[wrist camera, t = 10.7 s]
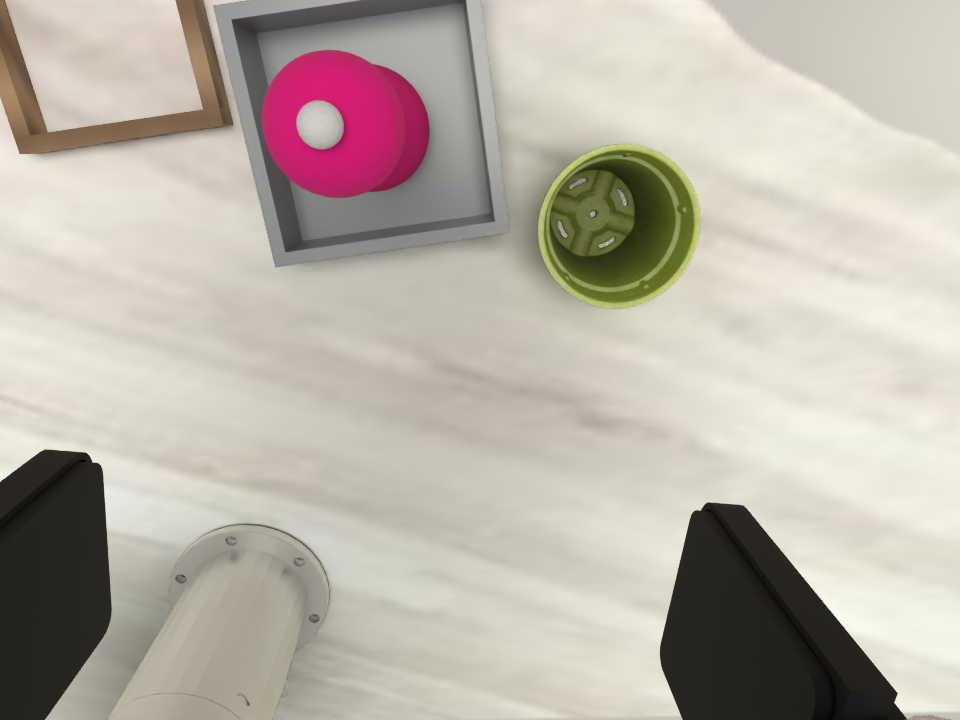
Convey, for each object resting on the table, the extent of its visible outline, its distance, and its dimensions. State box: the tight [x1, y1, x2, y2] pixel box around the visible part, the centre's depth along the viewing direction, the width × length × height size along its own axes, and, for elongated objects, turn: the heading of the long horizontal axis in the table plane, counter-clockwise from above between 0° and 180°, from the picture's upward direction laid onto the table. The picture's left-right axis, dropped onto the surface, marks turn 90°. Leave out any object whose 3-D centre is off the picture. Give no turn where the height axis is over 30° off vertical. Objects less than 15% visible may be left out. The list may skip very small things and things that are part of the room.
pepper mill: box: [262, 50, 430, 198], centre depth 34 cm, size 7×7×20 cm
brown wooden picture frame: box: [0, 0, 233, 154], centre depth 41 cm, size 13×13×2 cm
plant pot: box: [538, 144, 701, 309], centre depth 43 cm, size 9×9×9 cm
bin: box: [213, 0, 510, 267], centre depth 42 cm, size 15×15×6 cm
